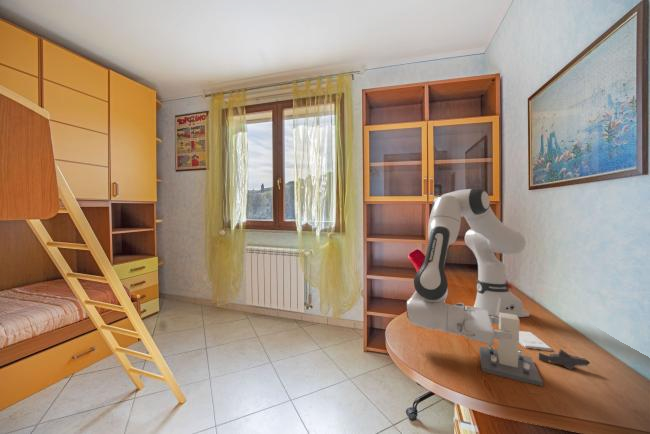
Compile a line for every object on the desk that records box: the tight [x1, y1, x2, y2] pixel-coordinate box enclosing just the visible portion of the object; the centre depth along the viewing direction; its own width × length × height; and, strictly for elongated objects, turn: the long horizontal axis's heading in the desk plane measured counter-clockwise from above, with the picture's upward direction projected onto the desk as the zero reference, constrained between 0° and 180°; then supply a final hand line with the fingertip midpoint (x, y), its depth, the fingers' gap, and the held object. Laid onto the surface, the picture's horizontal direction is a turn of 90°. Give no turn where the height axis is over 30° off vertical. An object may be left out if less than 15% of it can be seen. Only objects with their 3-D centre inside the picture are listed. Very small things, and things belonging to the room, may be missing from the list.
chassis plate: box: [478, 344, 544, 387], centre depth 81 cm, size 14×14×4 cm
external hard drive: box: [519, 330, 553, 352], centre depth 97 cm, size 2×8×12 cm
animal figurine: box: [538, 349, 591, 371], centre depth 82 cm, size 12×4×5 cm, turn 57°
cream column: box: [497, 312, 521, 368], centre depth 81 cm, size 4×4×14 cm
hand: (508, 329), depth 80 cm, fingers open, 8 cm apart
